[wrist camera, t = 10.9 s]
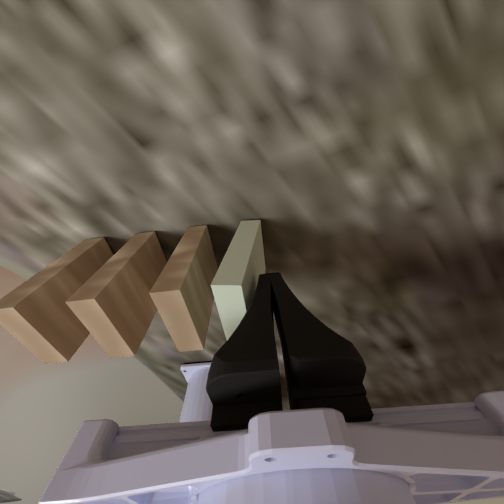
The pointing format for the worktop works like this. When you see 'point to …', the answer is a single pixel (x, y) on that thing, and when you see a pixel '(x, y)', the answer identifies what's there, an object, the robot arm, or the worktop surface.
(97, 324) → the domino
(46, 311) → the domino
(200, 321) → the domino
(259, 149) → the worktop surface
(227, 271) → the domino
